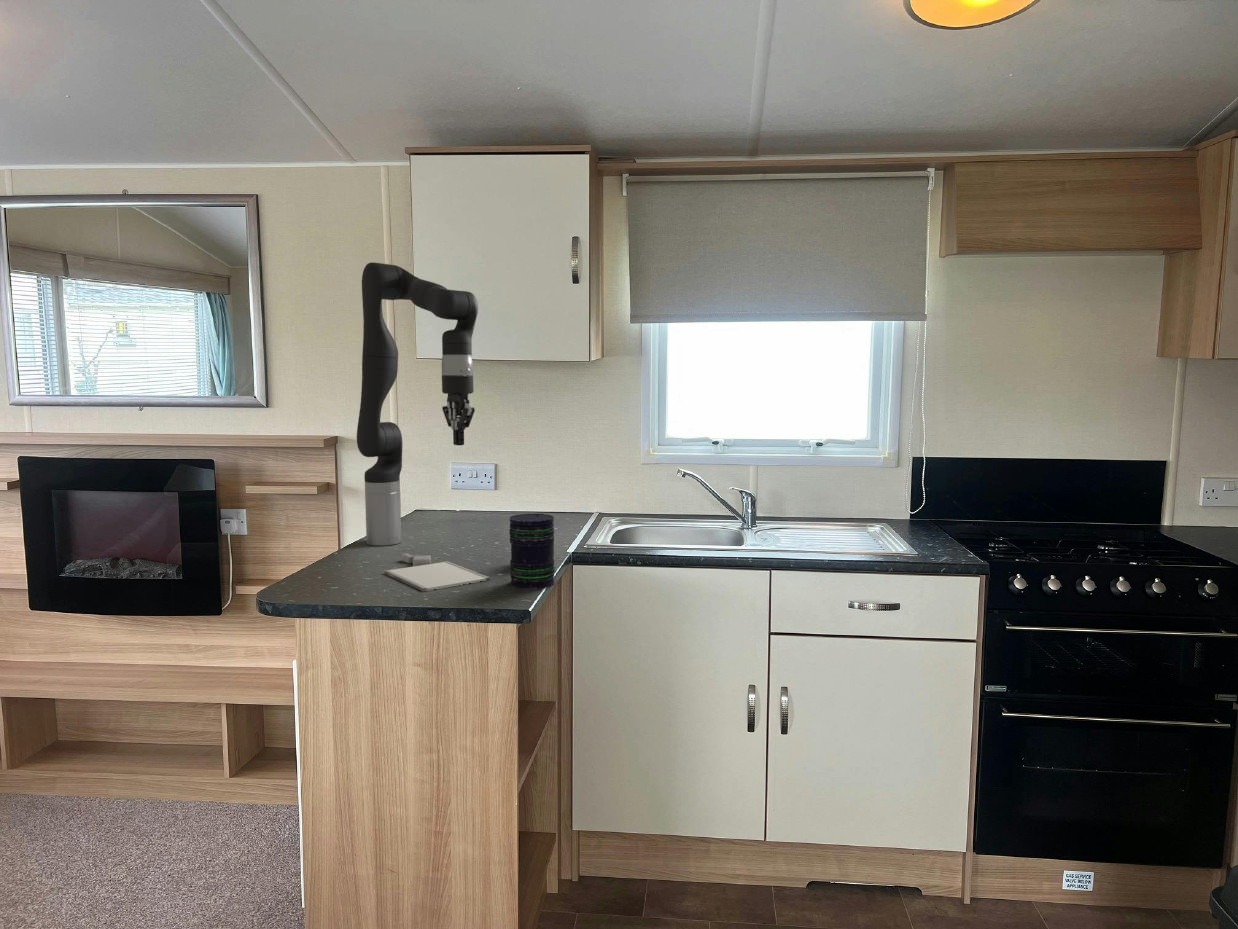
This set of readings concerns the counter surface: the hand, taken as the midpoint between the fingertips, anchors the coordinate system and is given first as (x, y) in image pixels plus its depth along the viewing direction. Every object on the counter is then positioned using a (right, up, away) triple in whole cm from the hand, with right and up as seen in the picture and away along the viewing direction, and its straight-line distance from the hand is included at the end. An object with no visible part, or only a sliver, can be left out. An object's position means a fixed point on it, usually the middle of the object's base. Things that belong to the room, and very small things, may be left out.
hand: (458, 445), depth 204 cm
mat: (-3, -31, -13) cm, 33 cm away
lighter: (-10, -29, -3) cm, 30 cm away
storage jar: (+20, -31, -19) cm, 42 cm away
